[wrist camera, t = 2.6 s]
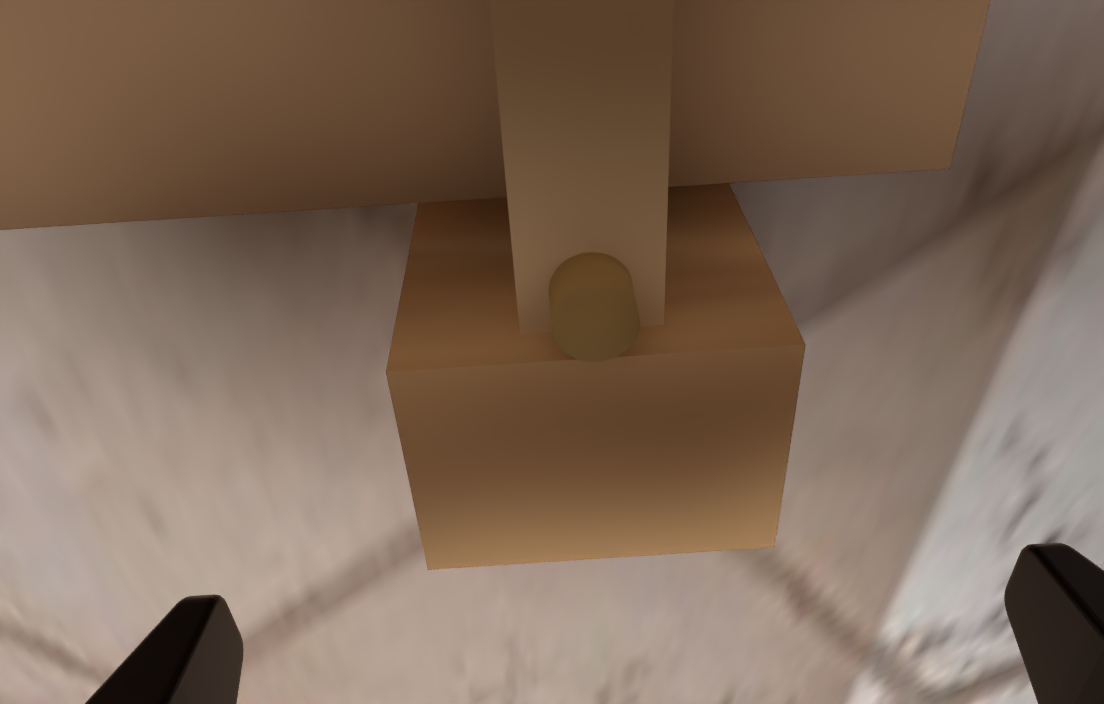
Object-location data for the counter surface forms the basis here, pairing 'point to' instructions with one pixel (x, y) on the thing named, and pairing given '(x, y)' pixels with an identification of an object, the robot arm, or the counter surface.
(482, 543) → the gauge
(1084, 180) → the counter surface
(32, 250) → the counter surface
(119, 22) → the plank
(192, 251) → the counter surface
